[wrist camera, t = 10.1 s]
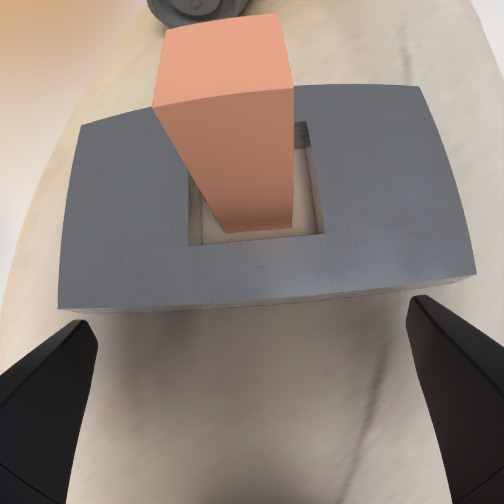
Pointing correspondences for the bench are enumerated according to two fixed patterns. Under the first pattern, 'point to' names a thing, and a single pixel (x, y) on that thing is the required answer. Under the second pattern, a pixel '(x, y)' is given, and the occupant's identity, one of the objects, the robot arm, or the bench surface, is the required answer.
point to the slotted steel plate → (276, 249)
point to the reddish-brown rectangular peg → (232, 116)
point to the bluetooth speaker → (194, 10)
